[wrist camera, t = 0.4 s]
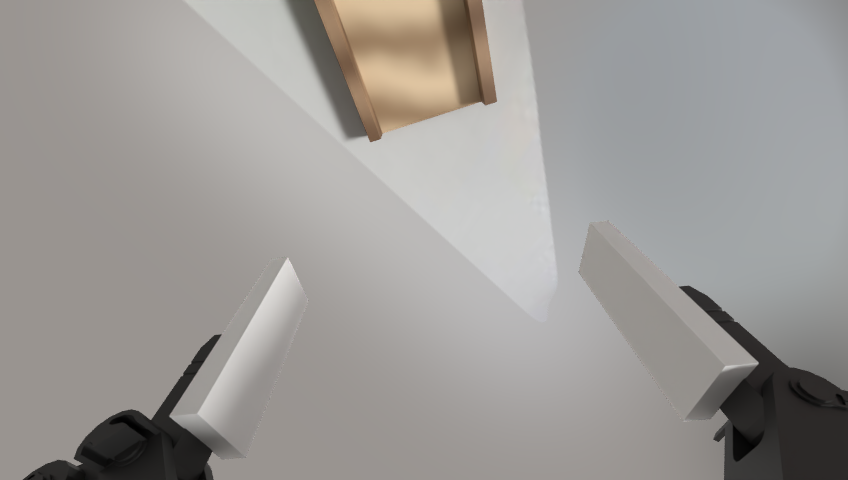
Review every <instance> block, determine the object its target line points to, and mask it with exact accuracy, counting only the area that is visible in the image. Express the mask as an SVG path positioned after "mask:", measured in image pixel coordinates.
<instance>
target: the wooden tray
mask: <svg viewBox="0 0 848 480" xmlns="http://www.w3.org/2000/svg"><path fill="white" fill-rule="evenodd" d="M314 1H315V4H316V7H317V9H318V12H319V14H320V17H321V19H322V22H323V24H324V27H325V29H326V32H327V34H328V37H329V39H330V42H331V44H332V47H333V49H334V52H335V54H336V57H337V59H338V62H339V65H340V67H341V70H342V72H343V75H344V77H345V80H346V82H347V85H348V87H349V90H350V92H351V95H352V97H353V100H354V102H355V105H356V107H357V110H358V112H359V115H360V117H361V120H362V123H363V125H364V128H365V130H366V133H367V135H368V138H369V140H370V142H373V141H376V140H379V139H381V136H382V134H383V133H385V132H388V131H391V130H394V129H397V128H401V127H404V126H407V125H410V124H413V123H416V122H419V121H422V120H425V119H429V118H432V117H435V116H438V115H441V114H444V113H447V112H450V111H453V110H456V109H460V108H463V107H466V106H469V105H472V104H475V103H478V102H482V103H483V104H485V105H488V104H491V103H495V102H497V98H496V92H495V85H494V78H493V72H492V65H491V58H490V52H489V45H488V38H487V32H486V25H485V18H484V12H483V5H482V0H314Z"/></svg>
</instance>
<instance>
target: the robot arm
mask: <svg viewBox="0 0 848 480" xmlns="http://www.w3.org/2000/svg"><path fill="white" fill-rule="evenodd" d="M579 273H580V275H581V276H582V278H583V279H584V281H585V282H586V283H587V285H588V286H589V288H590V289H591V291H592V292H593V293H594V295H595V296H596V298H597V299H598V300H599V302H600V303H601V305H602V306H603V308H604V309H605V311H606V312H607V313H608V315H609V316H610V318H611V319H612V321H613V322H614V324H615V325H616V326H617V328H618V329H619V331H620V332H621V333H622V335H623V336H624V337H625V339H626V341H627V342H628V344H629V345H630V346H631V348H632V349H633V351H634V352H635V354H636V355H637V356H638V358H639V359H640V361H641V362H642V363H643V365H644V366H645V368H646V369H647V371H648V372H649V374H650V375H651V376H652V378H653V379H654V381H655V382H656V384H657V385H658V386H659V388H660V389H661V391H662V392H663V394H664V395H665V396H666V398H667V399H668V401H669V402H670V404H671V405H672V406H673V408H674V409H675V411H676V412H677V414H678V415H679V417H680V418H681V419H682V421H693V420H705V419H711V417H713V415H714V414H715V413H716V412H717V410H719V408H720V409H721V410H722V412H723V413H724V414H725V415H726V416H727V418H728V419H729V420H728V421H727V422H726V423H725V424H724V425H723V426H722V427H721V428H720V429H719V430H718V431H717V433H716V434H715V437H714V440H715V441H718V442H719V441H720V440H721V439H722V438H723V437H724V436H725V462H724V464H725V465H724V480H848V391H844V390H841V389H840V388H838V387H837V386H835V385H834V384H832V383H831V382H829V381H827V380H826V379H824V378H822V377H820V376H817V375H815V374H813V373H811V372H808V371H805V370H800V369H797V368H789V367H788V366H787V365H785V364H784V363H783V362H782V361H781V360H779V359H778V358H777V357H776V356H775V355H774V354H773V353H772V352H770V351H769V350H768V349H767V348H766V347H765V346H764V345H762V344H761V343H760V342H759V341H758V340H757V339H756V338H755V337H753V336H752V335H751V334H750V333H749V332H748V331H747V330H745V329H744V328H743V327H742V326H741V325H740V324H739V323H738V322H734V319H733V318H732V317H731V316H730V315H729V314H727V313H726V312H725V311H722V309H721V307H719V306H718V305H717V304H716V303H715V302H714V301H713V300H711V299H710V298H709V297H708V296H707V295H705V294H703V293H701V292H699V291H697V290H696V289H694V288H692V287H690V286H681V287H678V286H677V285H676V284H675V283H674V282H673V281H672V280H671V279H670V278H669V277H668V276H666V275H665V274H664V273H663V272H662V271H661V270H660V269H659V268H658V267H657V266H656V265H655V264H654V263H653V262H652V261H651V260H649V258H647V257H646V256H645V255H644V254H643V253H642V252H641V251H640V250H639V249H638V248H637V247H636V246H635V245H634V244H633V243H631V242H630V241H629V240H628V239H627V238H626V237H625V236H624V235H623V234H622V233H621V232H620V231H619V230H618V229H617V228H616V227H615V226H614V225H613V224H612V223H610V222H609V221H601V222H591V223H590V225H589V229H588V234H587V238H586V243H585V247H584V251H583V255H582V260H581V264H580V269H579ZM308 301H309V300H308V299H307V296H306V294H305V292H304V290H303V288H302V286H301V284H300V282H299V279H298V277H297V275H296V273H295V271H294V269H293V267H292V265H291V263H290V261H289V259H288V257H284V258H275V259H271V260H270V262H269V263H268V264H267V266H266V268H265V269H264V271H263V272H262V274H261V275H260V277H259V278H258V280H257V281H256V283H255V284H254V286H253V288H252V289H251V291H250V292H249V294H248V295H247V297H246V298H245V300H244V301H243V303H242V305H241V306H240V308H239V309H238V311H237V312H236V314H235V315H234V317H233V318H232V320H231V321H230V323H229V325H228V326H227V328H226V329H225V331H224V332H223V334H221V335H214V336H213V337H212V338H211V339H210V340H209V341H208V342H207V343H206V344H205V345H203V346H202V347H201V348H200V350H199V351H198V353H197V354H196V356H195V357H194V359H193V360H192V363H191V365H189V366H188V367H187V369H186V370H185V372H184V373H183V374H184V375H183V376H182V377H180V379H179V381H178V382H177V383H176V385H175V386H174V388H173V389H172V391H171V392H170V394H169V395H168V396H167V398H166V400H165V401H164V402H163V404H162V405H161V407H160V408H159V410H158V411H157V412H156V414H155V415H154V417H153V418H152V420H149V419H148V418H147V417H146V416H144V415H143V414H142V413H140V412H139V411H136V410H127V411H122V412H120V413H118V414H116V415H113V416H111V417H109V418H108V419H107V420H105V421H104V422H102V423H101V424H99V425H98V426H97V427H96V428H95V429H94V430H93V431H92V432H91V433H90V434H88V435H87V436H86V438H85V439H84V440H83V442H82V443H81V444H80V446H79V447H78V449H77V451H76V454H75V457H74V459H75V460H77V461H79V462H81V463H83V464H81V465H79V466H75V465H73V464H71V463H69V462H67V461H62V460H57V461H54V462H51V463H48V464H45V465H44V466H42V467H40V468H38V469H37V470H35V471H33V472H32V473H31V474H29V475H28V476H27V477H26V478H24V479H23V480H213V475H212V470H211V468H210V466H209V465H208V463H207V461H208V459H209V457H210V455H211V453H212V452H214V453H215V454H216V455H217V456H218V457H220V458H221V459H233V458H245V457H246V456H247V453H248V451H249V448H250V446H251V443H252V441H253V438H254V436H255V433H256V431H257V428H258V426H259V424H260V421H261V418H262V416H263V414H264V411H265V409H266V406H267V403H268V401H269V399H270V396H271V393H272V391H273V389H274V386H275V383H276V381H277V378H278V376H279V374H280V371H281V369H282V366H283V364H284V361H285V359H286V356H287V354H288V351H289V349H290V346H291V344H292V341H293V339H294V336H295V334H296V331H297V329H298V326H299V324H300V321H301V319H302V316H303V314H304V311H305V309H306V306H307V304H308Z"/></svg>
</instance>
